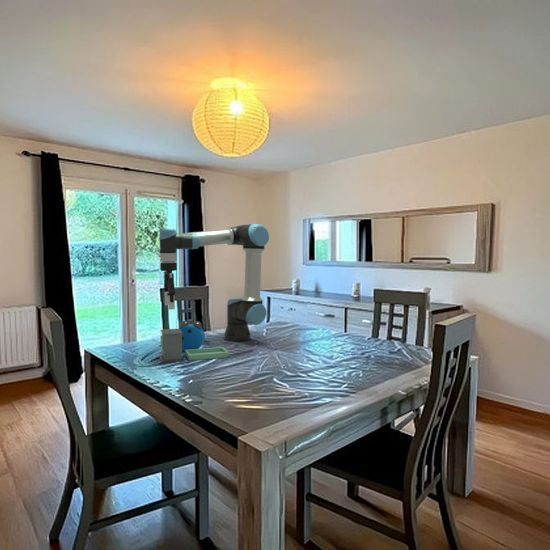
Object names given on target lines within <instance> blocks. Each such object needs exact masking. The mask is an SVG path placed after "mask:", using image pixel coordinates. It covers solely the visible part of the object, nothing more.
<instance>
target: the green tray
mask: <svg viewBox="0 0 550 550" xmlns="http://www.w3.org/2000/svg"><path fill="white" fill-rule="evenodd" d="M184 356H185V357H186V358H187V360H188V361H189V362H192V361H203V360H213V359H224V358H225V359H226V358H230V351H228V350H227V348H225V347H224V346H220V347H219V346H217V347H207V348H205V347H204V348H199V349H190V350H185V351H184Z"/></svg>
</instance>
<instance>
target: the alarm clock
mask: <svg viewBox="0 0 550 550" xmlns="http://www.w3.org/2000/svg"><path fill="white" fill-rule="evenodd" d="M179 329H180V330H181V331H182V333H183V335H182V351H184V352H185V350H190V349H201V347H202V346H203V344H204V343H205V341H206V334H205V331H204V330H203V324H202V323H201V322H200V321H198V320H197V321H194V322H189V321H187V320H183V321H181V322H180V323H179Z"/></svg>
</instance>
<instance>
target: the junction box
mask: <svg viewBox="0 0 550 550" xmlns="http://www.w3.org/2000/svg"><path fill="white" fill-rule="evenodd" d="M180 329H181V328H166V329H160V333H161V335H160V348H161V354H159V355H158V357H159V360H160V361H161V362H160V363H161V364H171V363H182V362H185V361H186V359H185V358H184V356H183V350H182V335H183V333H182V331H181V330H180Z"/></svg>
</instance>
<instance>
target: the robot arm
mask: <svg viewBox="0 0 550 550" xmlns="http://www.w3.org/2000/svg"><path fill="white" fill-rule="evenodd" d="M158 240H159V255H158V257H159V258H160V260H159V261H160V264H159V266H160V268H159V269H160V270H159V271H161V272H163V273H164V275H163V291H164V306H167V307H168V310H170V311H171V310H175V309H176V305H175V303H176V301H175V297H176V296H175V295H176V290H175V289H176V287H175V279H174V278H175V276H174V275H175V274H174V273H173V271H177V270H178V258H177V257H178V255H177V253H178V252H177V250H195V249H196V250H197V249H199V248H200V247H207V246H215V245H228V246H242V250H243V251H244V252H245V257H244V259H245V260H244V261H245V262H244V264H245V266H244V268H245V269H244V291H243V292H244V295H243V296H242V298H240V297H239V298H230V299H228V300H227V305H226V307H227V310H226V311H227V316H226V318H227V319H226V321H227V324H226V327H225V328H226V329H225V330H224V334H223V339H224V340H225V341H230V342H231V341H232V342H243V341H244V342H245V341H249V340H250V339H251V336H252V335H251V331H250V328H249V325H253V326H257V325H260V324H261V323H263V321H265V318H266V317H267V309H266V308H267V307H265V305H264V304H263V301H264V300H263V298H262V297H261V277H262V274H261V273H262V253H263V251H265V246H266V245H267V244H268V242H269V240H270V233H269V231H268V229H267V228H266V227H265V226H264V225H263V224H260V223H259V224H258V223H251V224H242V225H241V224H240V225H237V226H233V227H226V228H225V229H221V230H218V229H217V230H209V231H208V230H206V231H193V232H183V233H178V232H177V230H176V229H175V228H173V229H172V228H162V229H160V230H159V239H158Z"/></svg>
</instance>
